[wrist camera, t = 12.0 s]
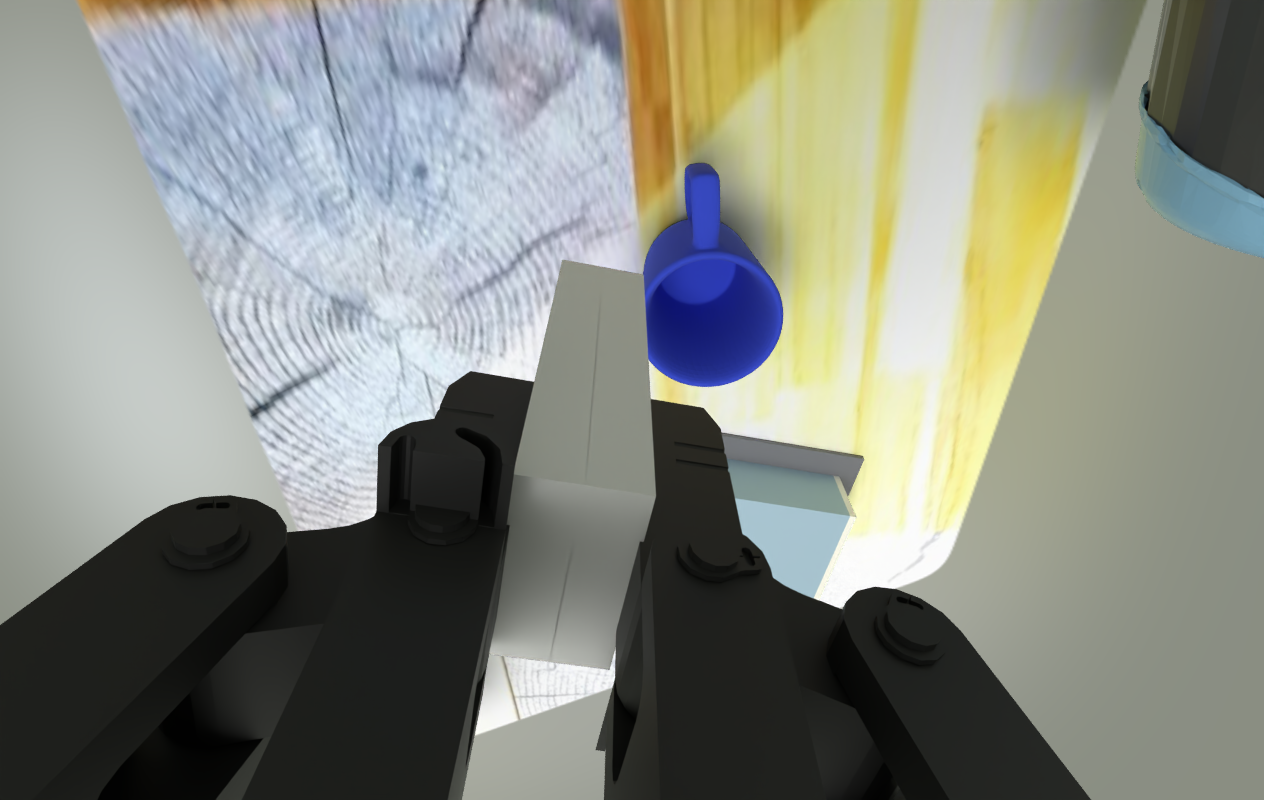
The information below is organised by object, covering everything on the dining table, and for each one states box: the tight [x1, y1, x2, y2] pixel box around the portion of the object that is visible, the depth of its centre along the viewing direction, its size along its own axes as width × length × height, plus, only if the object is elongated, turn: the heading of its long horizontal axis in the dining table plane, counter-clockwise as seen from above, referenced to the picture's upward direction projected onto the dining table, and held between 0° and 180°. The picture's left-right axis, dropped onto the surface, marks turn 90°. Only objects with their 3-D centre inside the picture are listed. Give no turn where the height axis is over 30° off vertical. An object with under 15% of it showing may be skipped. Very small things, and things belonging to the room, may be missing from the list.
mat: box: [722, 433, 864, 496], centre depth 59 cm, size 24×13×1 cm, turn 79°
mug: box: [643, 163, 783, 387], centre depth 44 cm, size 8×12×10 cm
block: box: [727, 459, 856, 600], centre depth 57 cm, size 5×9×16 cm
